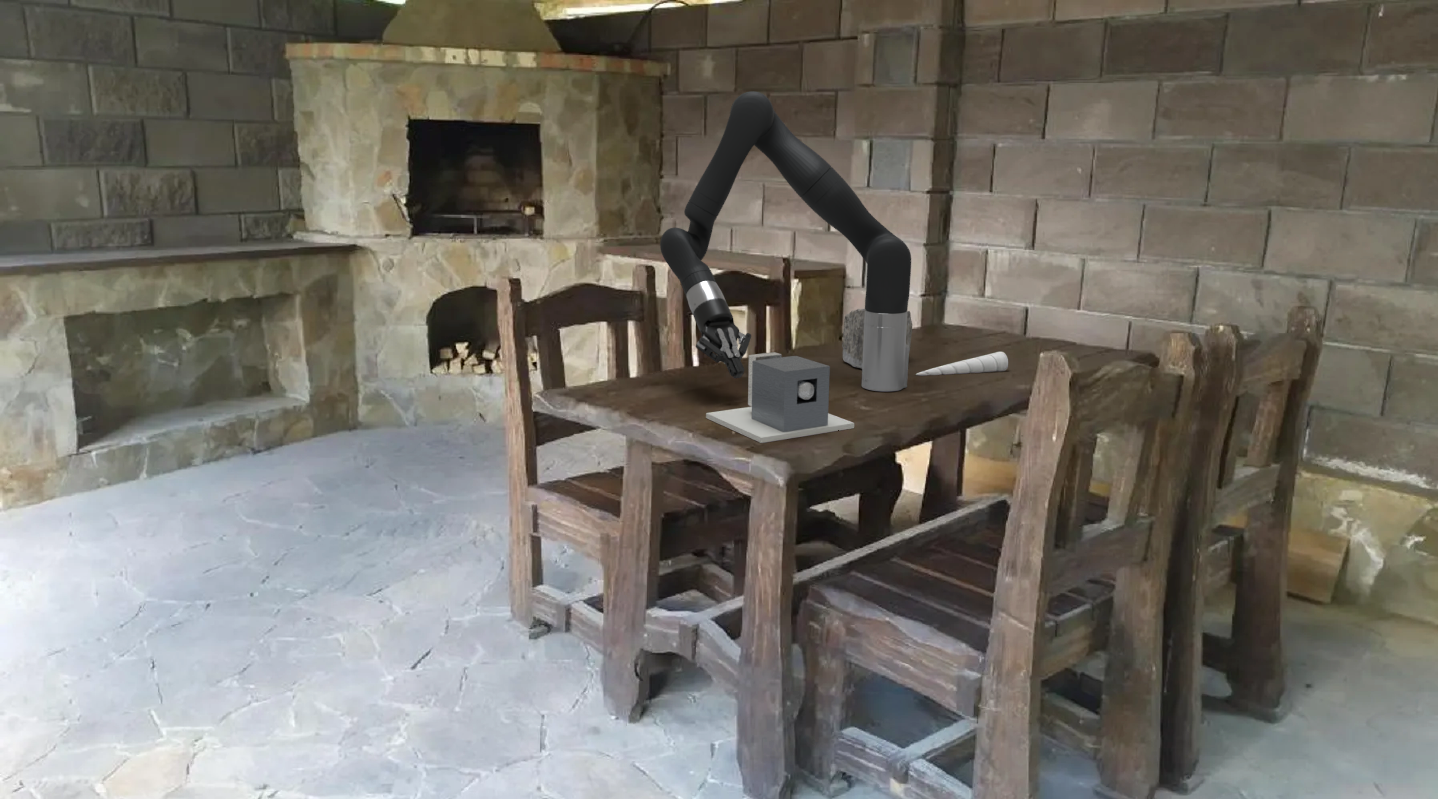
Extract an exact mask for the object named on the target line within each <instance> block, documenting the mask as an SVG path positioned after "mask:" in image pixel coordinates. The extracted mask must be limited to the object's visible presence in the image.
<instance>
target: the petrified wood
mask: <svg viewBox="0 0 1438 799" xmlns="http://www.w3.org/2000/svg"><path fill="white" fill-rule="evenodd" d="M864 316H865V308H857V309H854V310H850V312H849V313H846V314H845V315H844V320H843V321H844V322H843V328H842V343H841V347H842V359H843V361H844V363H847V364H849V365H850V366H852V367H854V368H858V369H862V364H863V341H864ZM912 333H913V320H912V315H911V312H910V310H907V329H906V344H907V345H908V346H909V352H910V350H911V341H912ZM909 359H910V358H909ZM909 359H908V362H909Z"/></svg>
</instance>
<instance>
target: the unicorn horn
mask: <svg viewBox="0 0 1438 799" xmlns="http://www.w3.org/2000/svg"><path fill="white" fill-rule="evenodd" d="M1008 367H1009V359H1008V356H1007V354H1006V353H1005V352H1004V351H996V352H993V353H988V354H985V355H980V356H976V357H973V358H967V359H963V360H959V361H955V362H952V363H947V364H944V365H941V366H936V367H933V368H929V369H926V370H922V371H920V372H917V373H916V374H915V375H916V376H938V375H939V376H942V375H956V374H958V375H961V374H969V373H970V374H975V373H976V374H979V373H991V372H1005V371H1006V370H1007V369H1008Z"/></svg>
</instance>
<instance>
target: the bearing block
mask: <svg viewBox="0 0 1438 799" xmlns="http://www.w3.org/2000/svg"><path fill="white" fill-rule="evenodd" d="M830 370H831V366H830V365H828V364H824V363H821V362H818V361H814V360H811V359H809V358H805V357H802V356H797V355H792V356H782V357H781V358H772V359H763V360H755V361H752V406H751V407H752V419H753V420H755V421H758V422H760V423H763V424H765V425H767V426H770V427H772V428H774V429H777V430H779V431H781V432H789V431H796V430H802V429H809V428H815V427H821V426H828V413H829V401H830V400H829V399H830V398H829V397H830V376H831V375H830V374H831V371H830ZM800 380H803V381H806V382H809V383H811V384H812V385H813V386H814V394H813V396H812V397H811V398H810V399H808V400H805V399H802V398H799V397H797V383H798V381H800Z"/></svg>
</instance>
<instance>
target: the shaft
mask: <svg viewBox="0 0 1438 799" xmlns="http://www.w3.org/2000/svg"><path fill="white" fill-rule="evenodd" d="M781 357H783V355H782V353H778V352H775V351H774V352H763V353H757V354H749V355H748V382H747V383H748V388H747V389H748V392H747V394H748V395H747V405H748V407H752V361H755V360H763V359H772V358H781ZM813 394H814V386H813V385H812V384H811V383H809V382H806V381H803V380H800V381H798V383H797V397H799V398H802V399H805V400H808V399H810V398H811V397H812V396H813Z"/></svg>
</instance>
